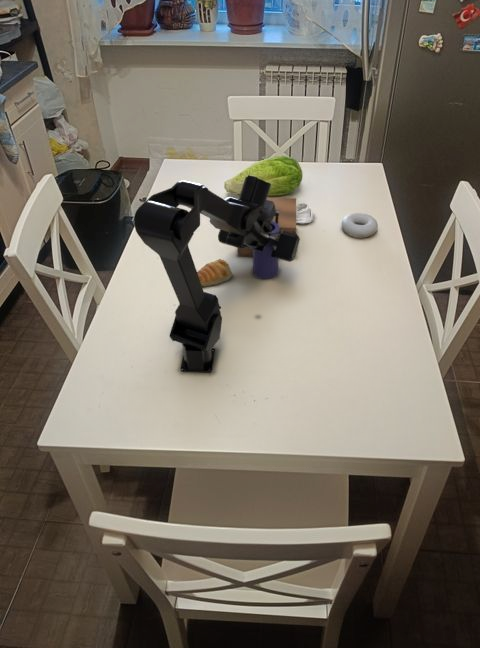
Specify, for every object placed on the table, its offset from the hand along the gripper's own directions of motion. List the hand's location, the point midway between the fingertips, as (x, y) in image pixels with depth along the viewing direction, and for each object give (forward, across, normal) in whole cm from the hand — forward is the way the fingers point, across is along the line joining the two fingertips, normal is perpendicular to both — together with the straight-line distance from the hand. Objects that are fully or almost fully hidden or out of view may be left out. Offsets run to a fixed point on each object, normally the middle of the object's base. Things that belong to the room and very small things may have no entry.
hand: (268, 247), depth 125 cm
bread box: (+12, +5, -3) cm, 14 cm away
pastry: (-2, +10, +11) cm, 16 cm away
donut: (+24, -16, -15) cm, 32 cm away
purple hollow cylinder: (+4, 0, +6) cm, 7 cm away
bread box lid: (+6, +5, -9) cm, 12 cm away
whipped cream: (+23, +1, -14) cm, 27 cm away
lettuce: (+30, +18, -20) cm, 40 cm away
